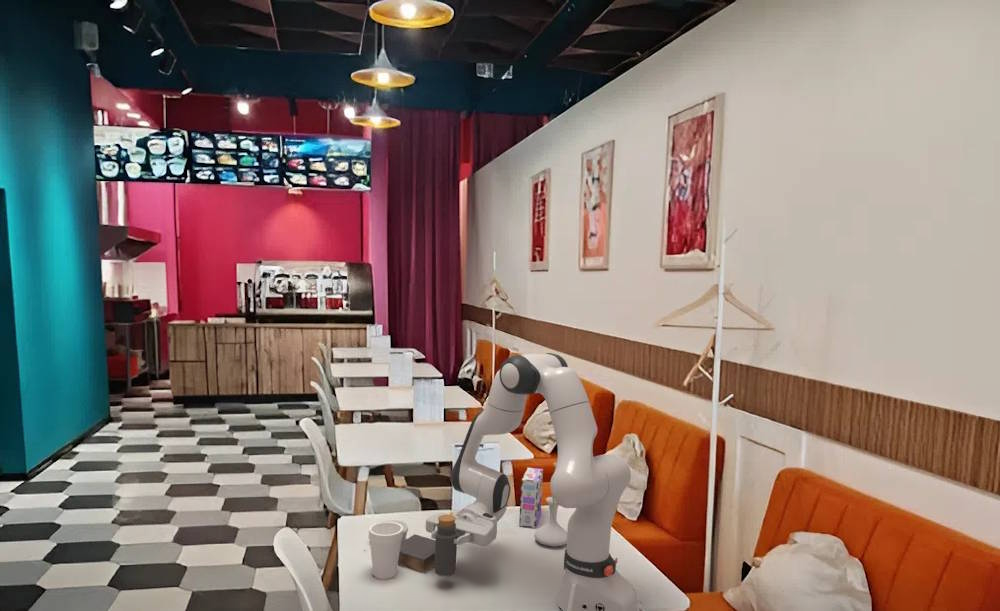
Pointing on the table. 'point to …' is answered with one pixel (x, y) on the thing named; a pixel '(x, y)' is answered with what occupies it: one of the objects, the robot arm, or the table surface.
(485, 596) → the table surface
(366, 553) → the table surface
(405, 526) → the ramekin
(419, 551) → the podium
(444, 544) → the bottle
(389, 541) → the foam cup
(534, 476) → the candy box
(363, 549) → the table surface
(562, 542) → the grey vase
